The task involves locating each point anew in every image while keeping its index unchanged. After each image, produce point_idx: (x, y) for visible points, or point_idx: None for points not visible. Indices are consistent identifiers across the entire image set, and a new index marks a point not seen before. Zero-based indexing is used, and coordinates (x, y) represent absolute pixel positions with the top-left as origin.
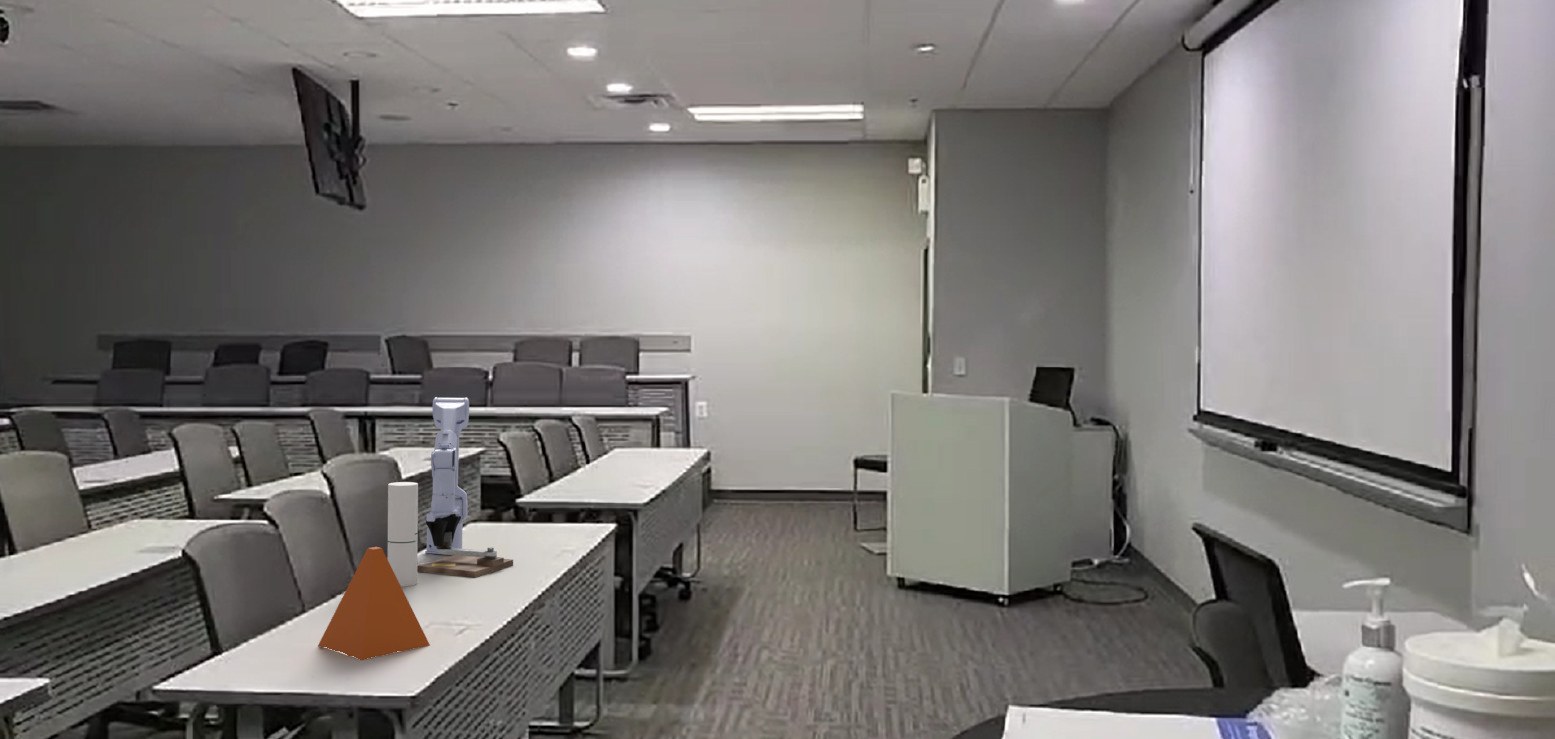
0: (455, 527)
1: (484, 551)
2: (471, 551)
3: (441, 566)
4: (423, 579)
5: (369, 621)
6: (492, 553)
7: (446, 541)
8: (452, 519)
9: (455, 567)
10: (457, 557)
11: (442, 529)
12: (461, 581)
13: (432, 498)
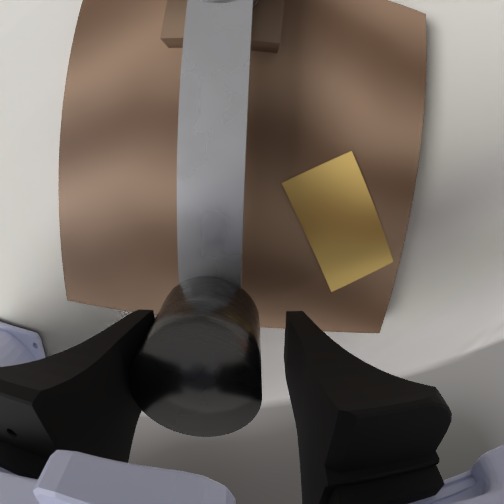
0: (80, 355)
1: (226, 4)
2: (247, 86)
3: (378, 216)
4: (494, 214)
5: None
6: None
7: (241, 315)
8: (75, 433)
9: (381, 134)
10: (122, 261)
11: (378, 370)
12: (486, 59)
13: None
